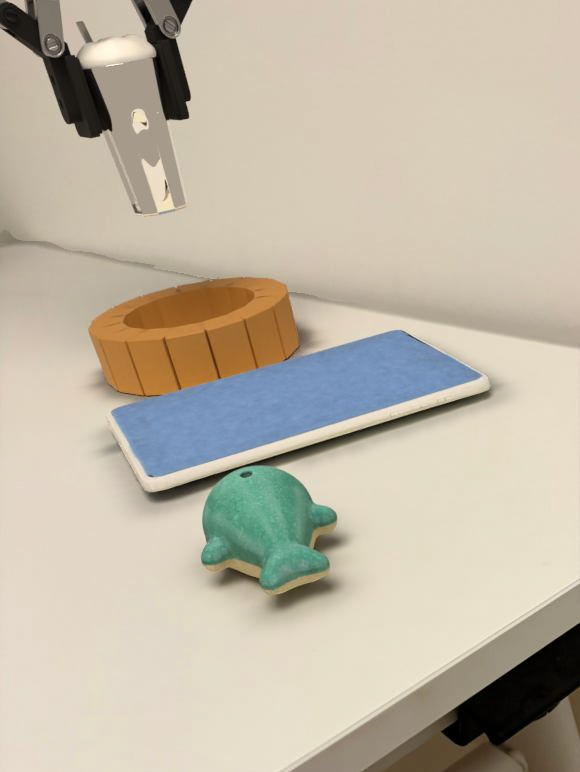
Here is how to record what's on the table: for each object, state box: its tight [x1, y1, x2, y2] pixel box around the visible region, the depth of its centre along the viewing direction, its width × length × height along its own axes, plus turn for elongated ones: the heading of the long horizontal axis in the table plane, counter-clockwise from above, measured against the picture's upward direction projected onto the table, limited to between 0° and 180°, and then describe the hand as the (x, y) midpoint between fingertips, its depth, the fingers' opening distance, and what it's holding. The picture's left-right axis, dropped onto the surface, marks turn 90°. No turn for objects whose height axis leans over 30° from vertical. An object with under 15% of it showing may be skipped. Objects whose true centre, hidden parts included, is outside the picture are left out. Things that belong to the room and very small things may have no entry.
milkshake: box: [75, 20, 189, 217], centre depth 54 cm, size 4×5×10 cm
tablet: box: [106, 329, 492, 493], centre depth 52 cm, size 19×13×1 cm, turn 118°
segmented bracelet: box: [87, 276, 301, 397], centre depth 62 cm, size 13×13×4 cm
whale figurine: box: [200, 465, 338, 595], centre depth 37 cm, size 6×7×4 cm
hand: (133, 123), depth 54 cm, fingers closed on milkshake, 4 cm apart
